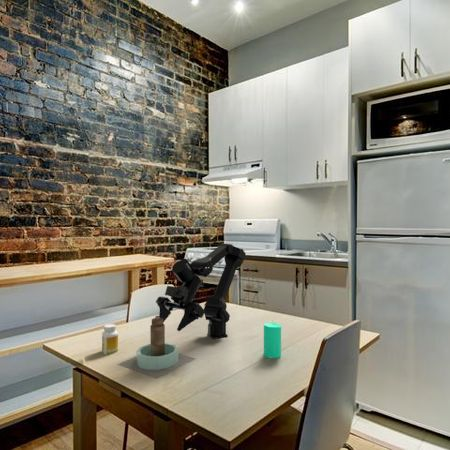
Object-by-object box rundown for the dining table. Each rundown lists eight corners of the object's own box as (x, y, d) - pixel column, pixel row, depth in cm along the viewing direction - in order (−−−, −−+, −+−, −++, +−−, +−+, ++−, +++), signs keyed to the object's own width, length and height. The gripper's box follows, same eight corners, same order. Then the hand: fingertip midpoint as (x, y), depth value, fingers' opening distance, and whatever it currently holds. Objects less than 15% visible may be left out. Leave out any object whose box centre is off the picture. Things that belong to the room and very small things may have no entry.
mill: (165, 356, 117) (165, 313, 117) (163, 361, 112) (163, 317, 112) (152, 356, 117) (151, 313, 117) (149, 361, 112) (149, 317, 112)
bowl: (171, 351, 123) (171, 340, 123) (182, 365, 112) (182, 353, 112) (133, 357, 118) (133, 346, 118) (141, 372, 106) (141, 360, 106)
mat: (158, 349, 127) (158, 347, 127) (196, 360, 117) (196, 358, 117) (117, 366, 112) (117, 364, 112) (157, 380, 102) (157, 378, 102)
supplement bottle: (121, 351, 125) (121, 324, 125) (111, 356, 120) (111, 328, 120) (108, 349, 127) (108, 322, 127) (98, 354, 122) (98, 327, 122)
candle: (270, 359, 118) (270, 323, 118) (260, 353, 123) (260, 319, 123) (284, 356, 120) (284, 321, 120) (274, 350, 126) (274, 317, 126)
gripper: (158, 274, 128) (136, 311, 119) (198, 279, 117) (176, 320, 108) (174, 291, 135) (153, 328, 126) (213, 297, 124) (193, 337, 115)
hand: (168, 328), depth 119 cm, fingers open, 9 cm apart
